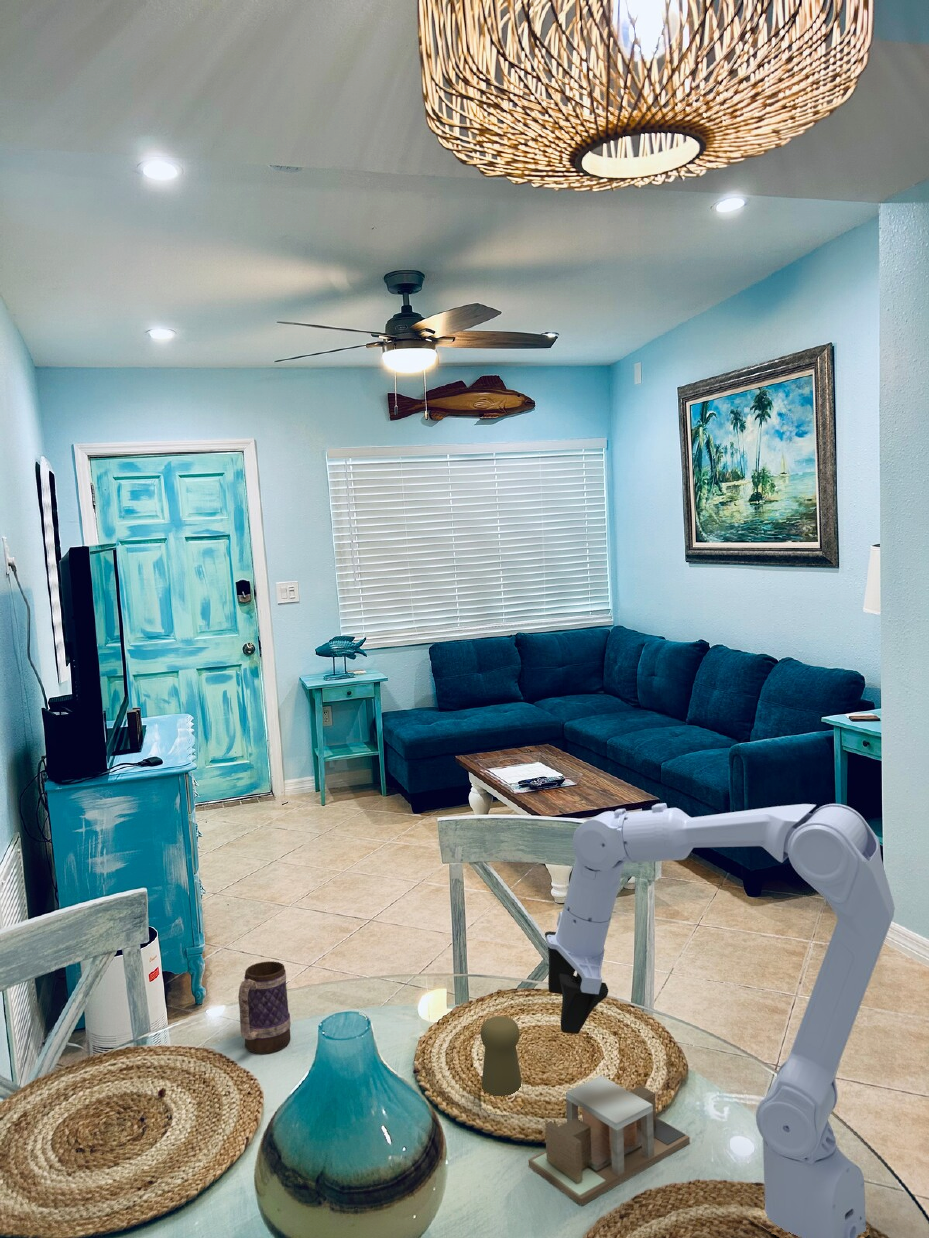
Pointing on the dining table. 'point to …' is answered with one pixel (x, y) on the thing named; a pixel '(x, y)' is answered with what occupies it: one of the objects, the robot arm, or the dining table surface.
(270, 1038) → the mug
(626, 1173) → the tunnel board
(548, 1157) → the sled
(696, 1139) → the dining table surface
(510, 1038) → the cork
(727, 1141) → the dining table surface
